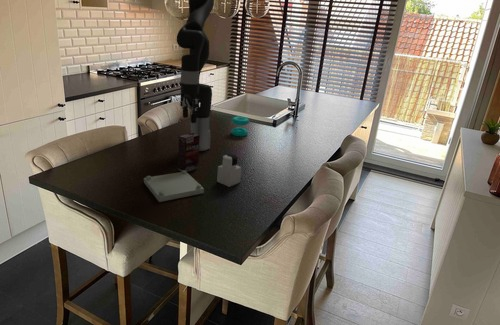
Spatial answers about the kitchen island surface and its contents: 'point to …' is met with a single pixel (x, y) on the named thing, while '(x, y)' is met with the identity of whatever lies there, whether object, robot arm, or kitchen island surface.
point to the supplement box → (188, 152)
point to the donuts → (239, 130)
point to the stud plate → (173, 186)
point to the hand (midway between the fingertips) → (189, 120)
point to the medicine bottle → (229, 171)
